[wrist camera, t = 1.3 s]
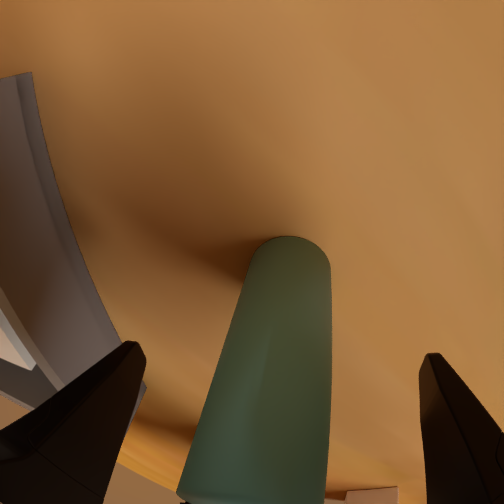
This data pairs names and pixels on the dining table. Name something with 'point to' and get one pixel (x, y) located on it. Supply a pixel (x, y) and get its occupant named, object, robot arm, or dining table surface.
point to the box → (41, 267)
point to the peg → (269, 387)
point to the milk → (373, 496)
